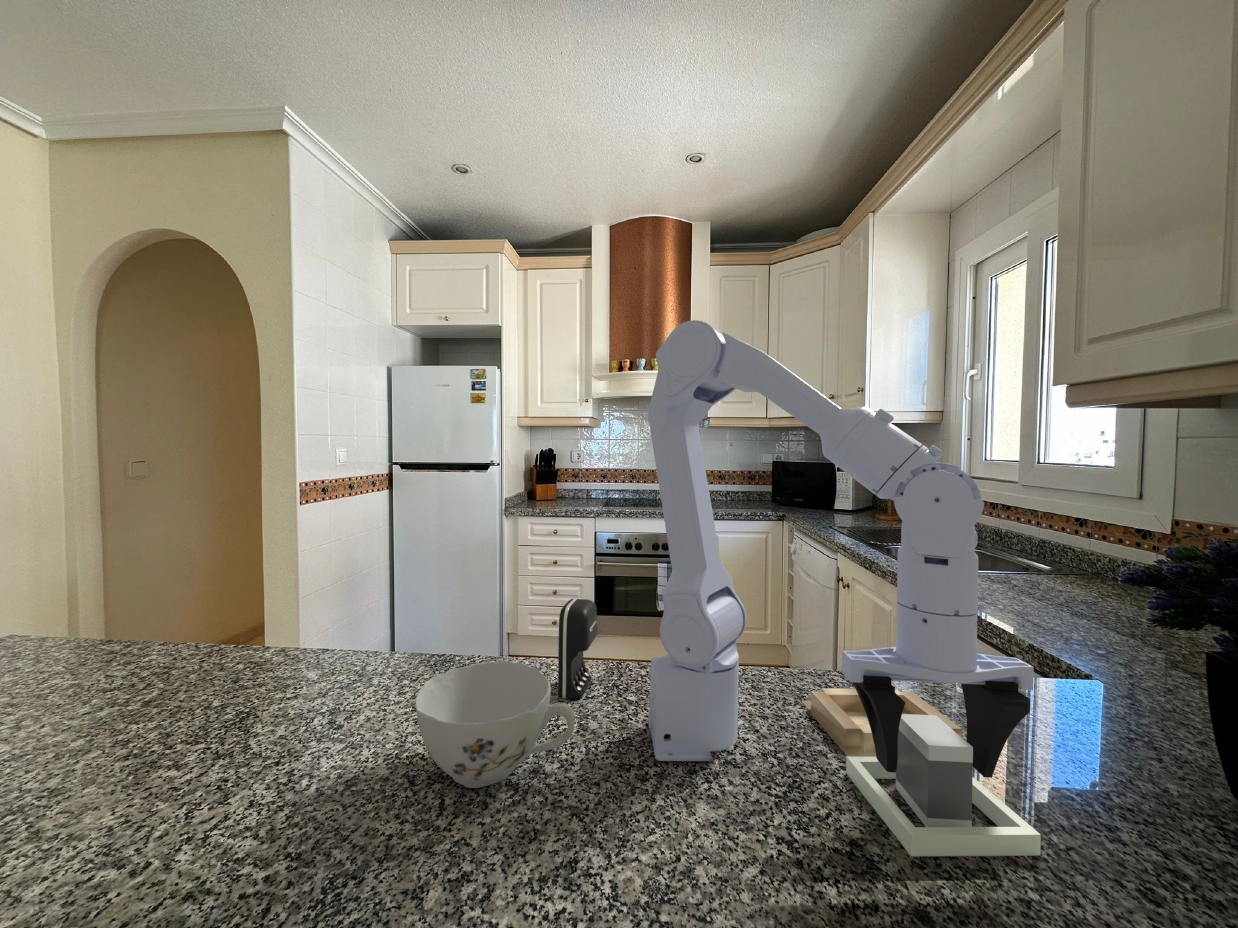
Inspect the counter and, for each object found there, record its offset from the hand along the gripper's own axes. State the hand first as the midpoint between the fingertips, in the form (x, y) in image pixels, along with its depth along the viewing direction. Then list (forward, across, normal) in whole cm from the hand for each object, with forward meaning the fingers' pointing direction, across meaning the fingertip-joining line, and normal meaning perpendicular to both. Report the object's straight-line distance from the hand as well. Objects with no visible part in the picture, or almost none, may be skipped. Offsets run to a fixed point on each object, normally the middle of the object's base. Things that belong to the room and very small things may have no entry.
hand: (932, 767), depth 42 cm
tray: (+4, 0, 0) cm, 4 cm away
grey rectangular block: (+4, 0, 0) cm, 4 cm away
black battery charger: (+5, +33, -21) cm, 39 cm away
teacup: (+5, +38, -4) cm, 39 cm away
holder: (+4, -2, -13) cm, 14 cm away
